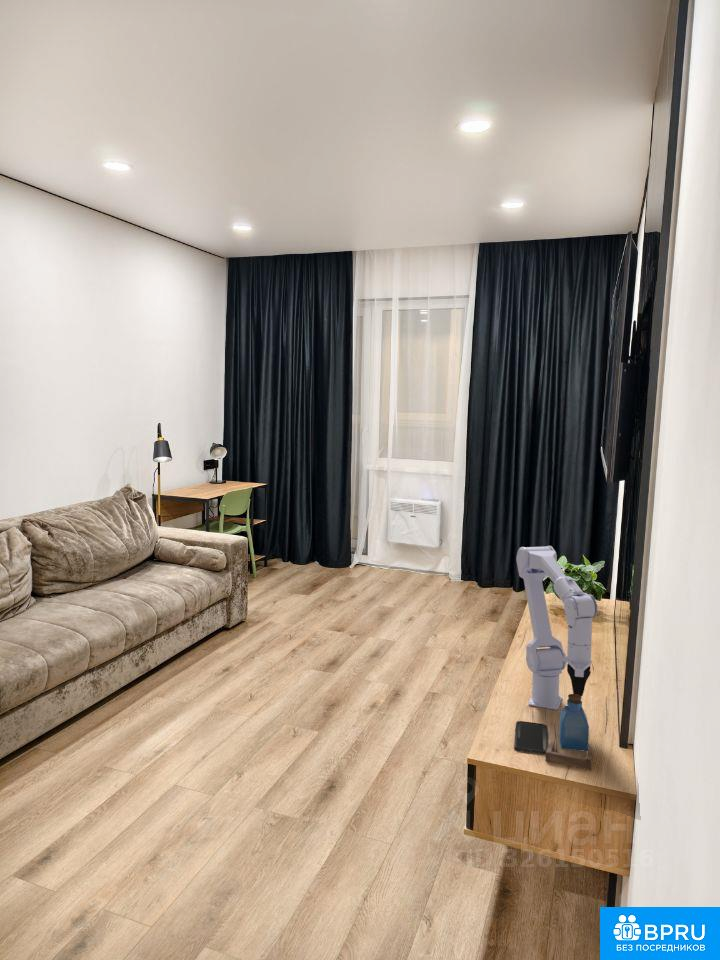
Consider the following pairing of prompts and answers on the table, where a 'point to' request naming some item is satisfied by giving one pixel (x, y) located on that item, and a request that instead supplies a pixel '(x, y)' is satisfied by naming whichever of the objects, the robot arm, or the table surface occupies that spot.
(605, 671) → the table surface
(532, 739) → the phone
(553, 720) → the table surface
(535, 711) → the table surface
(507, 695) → the table surface
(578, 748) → the perfume bottle
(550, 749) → the bracket
